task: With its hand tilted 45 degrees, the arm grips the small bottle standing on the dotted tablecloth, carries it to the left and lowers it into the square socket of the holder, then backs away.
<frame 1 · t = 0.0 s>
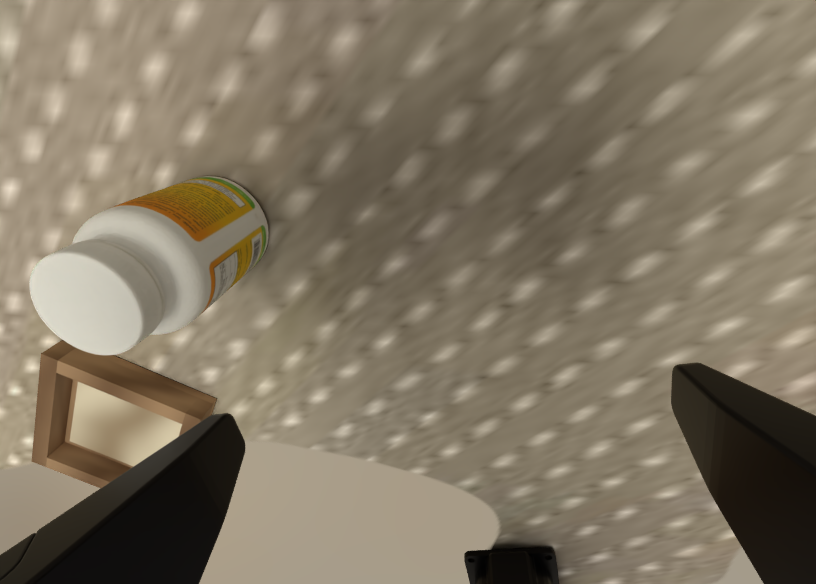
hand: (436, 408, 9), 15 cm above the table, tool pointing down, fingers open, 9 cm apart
supplement bottle: (224, 224, 24), on the table
holder: (131, 420, 31), on the table
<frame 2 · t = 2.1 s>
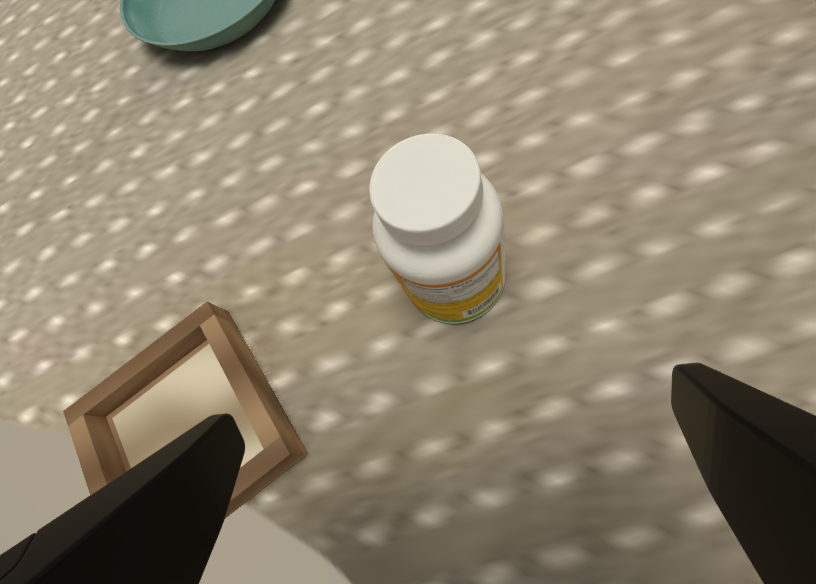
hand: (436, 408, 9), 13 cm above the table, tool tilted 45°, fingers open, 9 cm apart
supplement bottle: (456, 279, 24), on the table
holder: (193, 432, 25), on the table
saucer: (222, 5, 37), on the table
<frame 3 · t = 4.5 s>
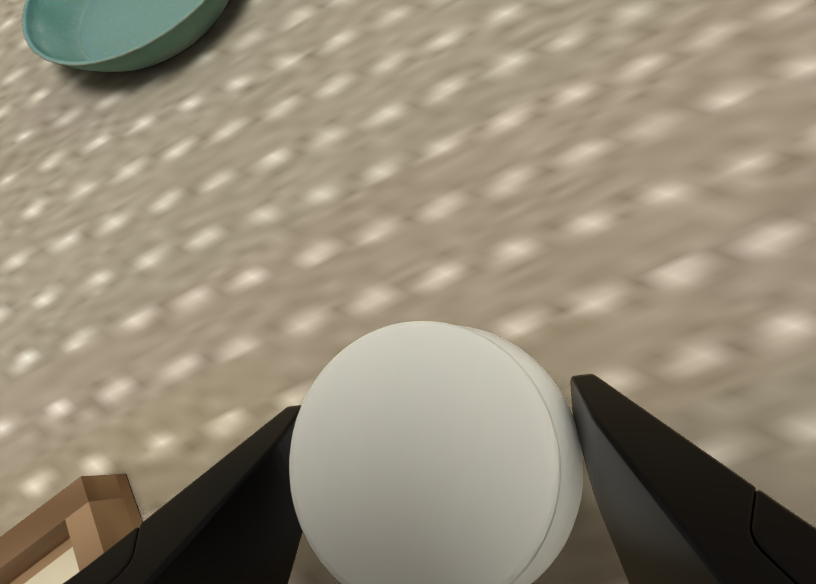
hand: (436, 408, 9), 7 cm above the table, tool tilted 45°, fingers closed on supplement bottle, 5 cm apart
supplement bottle: (472, 452, 15), on the table, touching gripper
saucer: (162, 10, 29), on the table
when the fingers open (8 cm above the table, at t = 8.2 s): supplement bottle stays where it is, resting on holder.
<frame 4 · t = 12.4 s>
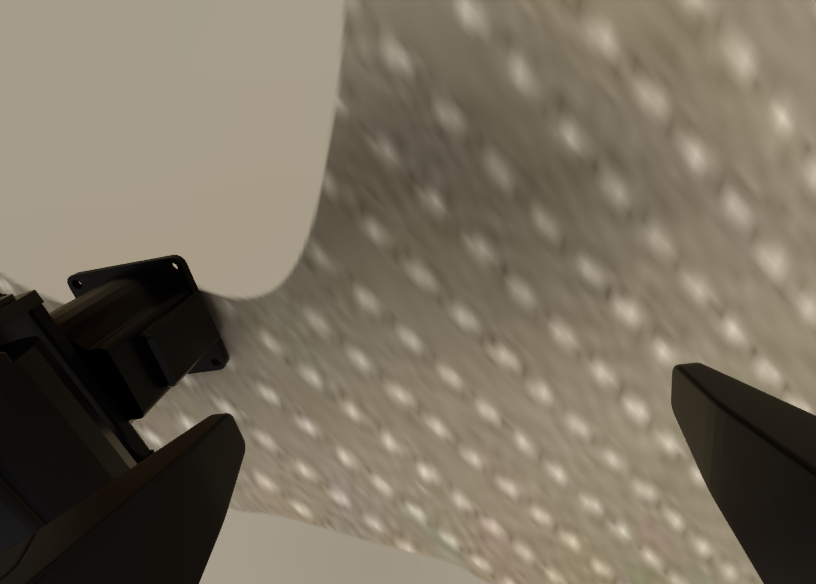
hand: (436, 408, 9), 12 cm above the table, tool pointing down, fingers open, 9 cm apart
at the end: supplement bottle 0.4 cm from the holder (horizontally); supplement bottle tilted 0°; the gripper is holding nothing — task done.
